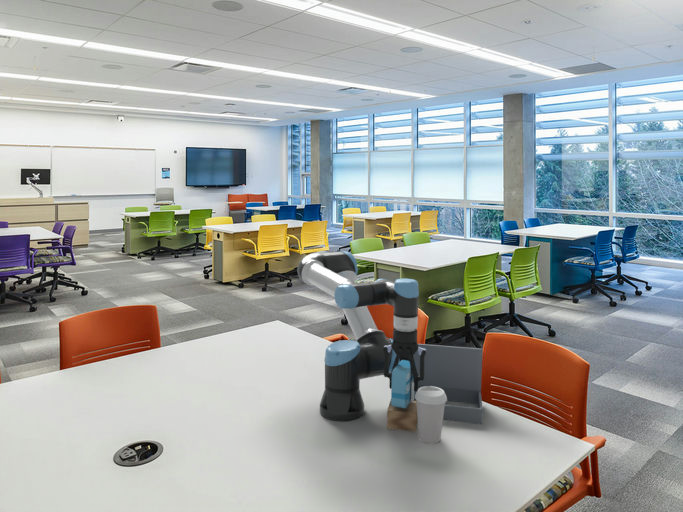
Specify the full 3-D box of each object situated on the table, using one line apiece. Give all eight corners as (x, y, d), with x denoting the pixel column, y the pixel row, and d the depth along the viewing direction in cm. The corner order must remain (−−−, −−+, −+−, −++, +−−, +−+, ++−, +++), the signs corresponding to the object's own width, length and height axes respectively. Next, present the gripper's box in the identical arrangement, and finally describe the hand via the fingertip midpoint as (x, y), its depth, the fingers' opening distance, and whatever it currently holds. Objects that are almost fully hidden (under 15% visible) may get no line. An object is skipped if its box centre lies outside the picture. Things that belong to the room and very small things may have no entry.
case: (403, 415, 168) (404, 357, 165) (408, 396, 183) (409, 343, 180) (482, 424, 162) (484, 364, 159) (480, 403, 177) (482, 348, 175)
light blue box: (404, 410, 155) (405, 372, 153) (390, 407, 157) (391, 370, 155) (415, 395, 166) (416, 360, 164) (401, 393, 167) (402, 358, 166)
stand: (387, 428, 159) (387, 410, 158) (390, 415, 168) (391, 398, 167) (415, 431, 157) (416, 413, 156) (418, 418, 166) (418, 401, 165)
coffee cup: (447, 433, 156) (449, 387, 154) (443, 448, 147) (445, 399, 145) (416, 428, 159) (418, 383, 157) (410, 443, 150) (412, 395, 148)
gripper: (374, 329, 156) (373, 401, 160) (434, 334, 152) (431, 407, 155) (378, 323, 163) (377, 391, 167) (435, 327, 159) (432, 397, 163)
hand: (403, 398), depth 161 cm, fingers closed on light blue box, 5 cm apart
